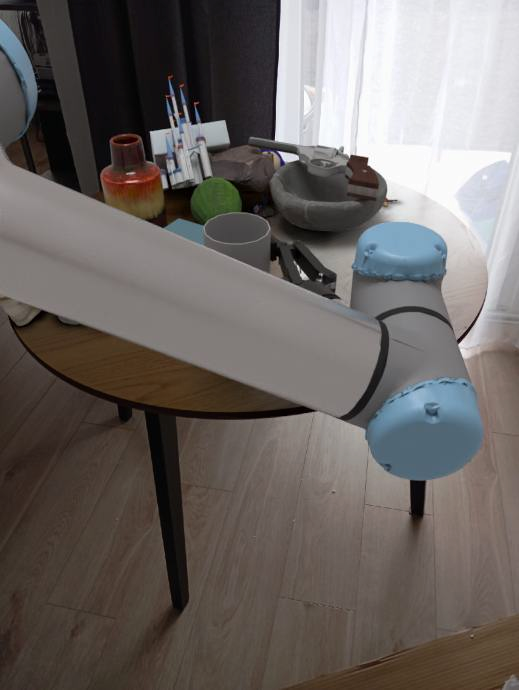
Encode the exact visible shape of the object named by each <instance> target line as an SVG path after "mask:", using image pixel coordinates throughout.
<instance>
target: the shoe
mask: <svg viewBox="0 0 519 690" xmlns="http://www.w3.org/2000/svg"><path fill="white" fill-rule="evenodd" d="M0 307H1V308H2V310H3V311H4V312H5V313H6V314H7V315H8V316H9V317H10V319H11V320H12V321H13V322H14V323H15V325H16V326H17V327H22V326H25V325H28V324H29V323H30V322H31V321H32V320H33V319H34V318H35V317H36V316H37V315H38V314H39V313H40V312H41V311H42V310H41V309H38V308H36V307H33V306H30V305H27V304H25V303H22V302H19V301H16V300H14V299H11V298H8V297H6V296H3V295H0Z"/></svg>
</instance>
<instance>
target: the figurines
mask: <svg viewBox="0 0 519 690" xmlns="http://www.w3.org/2000/svg"><path fill="white" fill-rule="evenodd" d="M261 202H262V204H256V205H255V206H254V207H253V208H252V210H251V211H252V212H253V215H257V216H260V217H262V218H263V219H265V218H267V217H269V216H274V215H275V212H274V209H273V208H272V207H271V206H269V205H267V202H269V201H268V197H267V196H266V194H265V193H264V195H262V197H261ZM264 217H265V218H264ZM265 220H266V221H267V219H265Z"/></svg>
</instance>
